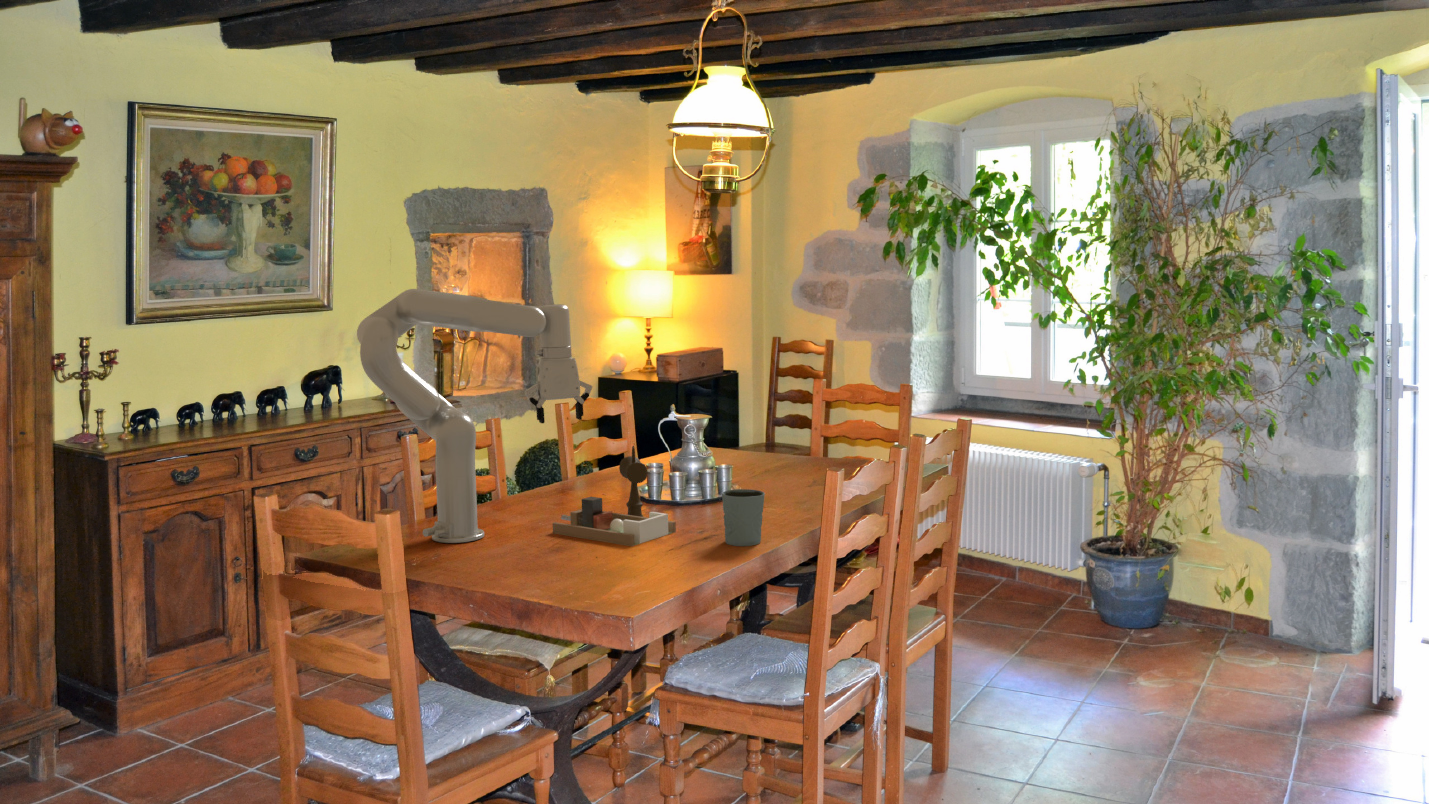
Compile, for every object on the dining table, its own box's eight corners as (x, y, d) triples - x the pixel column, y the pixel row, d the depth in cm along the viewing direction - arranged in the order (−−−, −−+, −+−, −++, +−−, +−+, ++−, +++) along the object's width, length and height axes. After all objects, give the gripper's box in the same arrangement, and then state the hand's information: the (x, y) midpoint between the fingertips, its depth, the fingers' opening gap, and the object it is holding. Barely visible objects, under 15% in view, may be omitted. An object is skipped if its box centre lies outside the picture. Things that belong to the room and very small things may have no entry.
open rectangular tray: (632, 551, 267) (631, 525, 267) (553, 537, 282) (552, 512, 281) (675, 536, 281) (675, 511, 280) (598, 524, 295) (597, 500, 295)
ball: (618, 535, 278) (617, 521, 278) (607, 533, 280) (606, 519, 280) (627, 532, 281) (627, 518, 281) (616, 530, 283) (616, 516, 283)
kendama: (642, 517, 304) (640, 442, 301) (650, 524, 294) (648, 447, 292) (619, 518, 302) (618, 443, 300) (627, 526, 293) (625, 449, 290)
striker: (596, 532, 280) (596, 502, 280) (554, 525, 289) (553, 496, 288) (612, 527, 285) (612, 498, 284) (570, 520, 293) (570, 492, 292)
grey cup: (714, 543, 274) (713, 493, 273) (739, 534, 282) (738, 486, 281) (748, 549, 268) (747, 498, 267) (773, 540, 276) (772, 491, 274)
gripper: (525, 357, 282) (530, 426, 284) (593, 352, 288) (597, 419, 290) (519, 355, 289) (523, 422, 291) (585, 350, 295) (589, 416, 297)
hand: (560, 420), depth 291 cm, fingers open, 9 cm apart
